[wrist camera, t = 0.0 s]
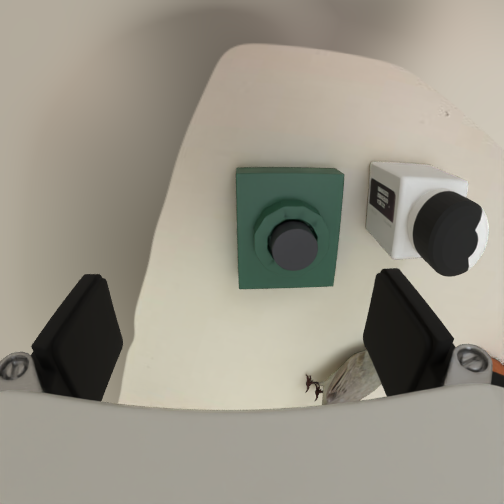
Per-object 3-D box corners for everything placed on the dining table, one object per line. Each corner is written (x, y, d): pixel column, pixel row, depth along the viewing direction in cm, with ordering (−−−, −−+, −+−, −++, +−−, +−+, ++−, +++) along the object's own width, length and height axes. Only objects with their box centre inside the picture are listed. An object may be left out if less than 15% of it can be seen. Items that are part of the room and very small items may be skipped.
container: (364, 229, 34) (417, 291, 22) (369, 160, 31) (435, 194, 19) (422, 228, 34) (486, 283, 22) (429, 164, 31) (506, 198, 19)
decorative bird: (408, 338, 41) (429, 374, 35) (315, 391, 45) (324, 430, 38) (397, 316, 40) (420, 352, 33) (298, 373, 43) (305, 414, 36)
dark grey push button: (270, 220, 28) (272, 229, 27) (314, 220, 29) (319, 228, 27) (269, 261, 30) (271, 271, 28) (311, 260, 30) (316, 270, 28)
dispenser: (236, 167, 31) (235, 177, 26) (335, 168, 31) (351, 179, 27) (239, 275, 36) (238, 300, 31) (326, 273, 36) (338, 296, 32)
